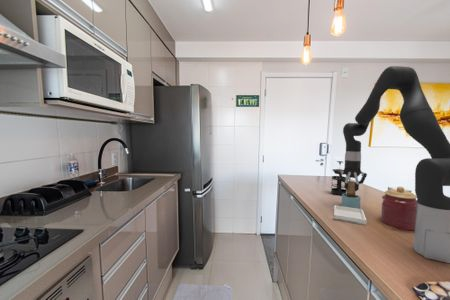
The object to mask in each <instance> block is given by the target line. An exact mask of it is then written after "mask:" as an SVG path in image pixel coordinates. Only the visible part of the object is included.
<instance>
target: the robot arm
mask: <svg viewBox="0 0 450 300" xmlns="http://www.w3.org/2000/svg"><path fill="white" fill-rule="evenodd" d="M418 76H419V75H418V73H417V71H416V70H415V68H413V67H410V66H401V65H390V66H387V67H386V68H385V69H384V70H383V71H382V72H381V74H380V75H379V77H378V79H377V80H376V83H375V84H374V87H373V88H372V90H371V92H370V94H369V96H368V98H367V99H366V101H365V103H364V104H363V106H362V107H361V108H360V110H359V111H358V113H357V114H356V116H355V117H354V121H355V122H356V123H355V122H353V123H352V122H349V123H348V122H347V123H345V125H343V127H342V128H343V129H342V134H343V136H344V141H345V154H344V168H343V169H342V170H343V171H338V173H339V174H338V176H340V179H341V181H342V182H341V183H344V184H343V185H344V188H343V189H345V190H347V186H348V183H347V182H348V181H349V178H350V179H351V178H352V179H354V180H355V182H356V190H355V192H357V191H359V189H360V188H359V187H360V185H362V184H364V182H365V179H366V178H367V177H368V173H366V172H363V171H362V170H361V167H362V141H361V140H356V139H355V137H361V136H363V135H365V134H366V132H367V129H369V126H370V123H371V122H372V120H373V119H374V118H375V117H376V116H377V114H378V113H379V110H380V107H381V105H380V104H381V99H382V97H383V95H384V94H385V93H386V92H387V91H388V90H396V91H399V92H400V94H401V97H402V98H403V103H402V106H401V109H400V112H399V120H400V122H401V124H402V126H403V128H404V131H405V132H406V133H407V135H408V136H410V137H411V138H412V139H413V140H414V141H416V142H417V143H418V144H420V145H421V146H422V147H423V148H424V149H425V150H426V151H427V153H428V154H429V155H430V157H431V158H422V159H421V160H419V161H418V163H417V165H416V166H415V173H414V191H415V192H414V193H415V195H416V196H417V198H416V200H417V209H416V221H415V230H414V238H413V246H412V247H413V251H415V252H416V254H419V255H421V256H422V257H423V258H425V259H429V260H432V261H433V260H434V261H438V262H442V263H447V264H450V197H449V196H447V195H446V194H444V187H450V141H449V140H448V138H447V136H446V135H445V133H444V131H443V128H442V127H441V125H440V123H439V121H438V119H437V117H436V115H435V113H434V111H433V109H432V107H431V106H430V104H429V102H428V99H427V97H426V95H425V93H424V92H423V89H422V85H421V82H420V79H419V77H418ZM343 172H344V173H345V174H344V175H345V177H346V179H345V180H344V179H343V177H344V176H343ZM360 176H361V179H360V180H359V178H358V177H360Z"/></svg>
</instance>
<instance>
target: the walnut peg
mask: <svg viewBox="0 0 450 300" xmlns="http://www.w3.org/2000/svg"><path fill="white" fill-rule="evenodd" d="M347 183H348V186H347V191H346V193H347V197H352V198H355V195H356V191H355V190H356V181H351V180H350V181H349V180H348V182H347Z"/></svg>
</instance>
